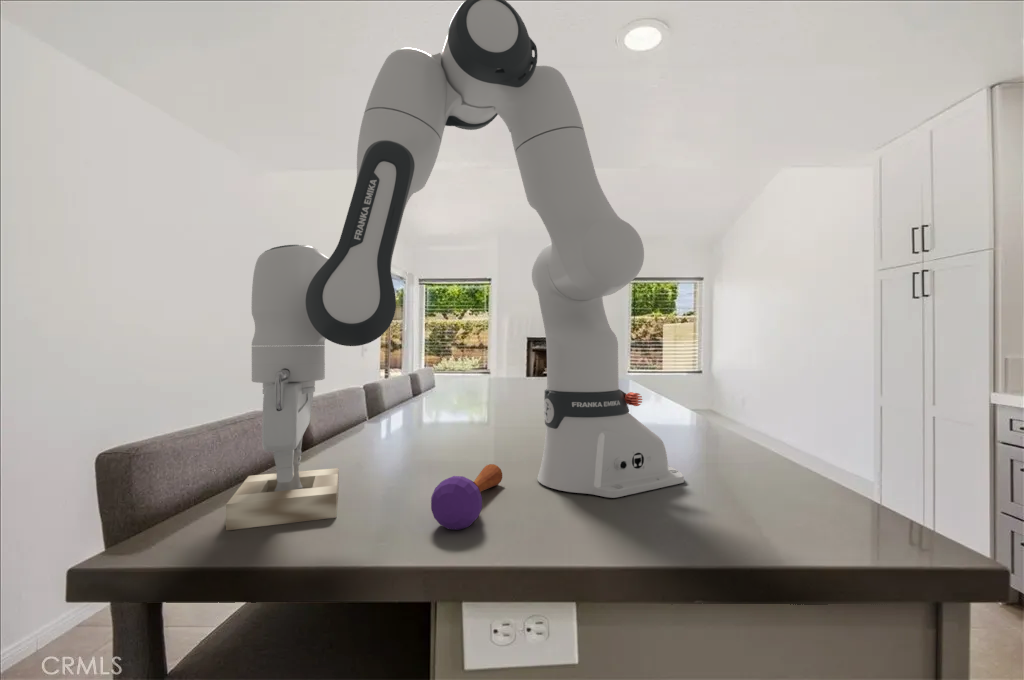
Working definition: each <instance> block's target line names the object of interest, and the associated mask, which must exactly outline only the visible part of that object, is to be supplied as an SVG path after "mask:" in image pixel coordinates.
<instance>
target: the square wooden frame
mask: <svg viewBox="0 0 1024 680" xmlns="http://www.w3.org/2000/svg"><path fill="white" fill-rule="evenodd" d="M339 470H340V469H339V467H335V468H322V469H312V470H299V478H300V482H301V485H302V486H303V487H302V489H295V490H285V491H274V490H275V488H276V486H277V472H275V473H264V474H255V475H248V476H247V477H246V478H245V480H244V481H243V483H242V484H241V485H240V486H239V487H238V488H237V490H236V491H235V493H234V494H233V495H232V497H230V499H229V500H228V501H227V503H225V514H226V515H225V531H233V530H243V529H250V528H257V527H259V528H260V527H267V526H276V525H282V524H283V525H285V524H293V523H300V522H308V521H317V520H319V521H320V520H324V519H334V518H337V516H338V515H337V514H338V503H339V491H340V490H339V488H340V487H339V486H340V484H339V483H340V482H339V479H340V478H339V475H340V471H339Z"/></svg>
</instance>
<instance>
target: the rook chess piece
mask: <svg viewBox="0 0 1024 680" xmlns="http://www.w3.org/2000/svg"><path fill="white" fill-rule="evenodd" d="M302 453H303V452H302V450H301V451H300V450H299V445H297V447H296V449H294V457H293V465H294V476H293V479H292V480H291V481H290V482H281V483H280V482H278V481H277V486H276V488H275V490H274V491H285V490H295V489H302V487H303V486H302V485H301V482H300V478H299V471H300V470H299V466H300V465H301V462H298V458H299V456H300V455H302Z"/></svg>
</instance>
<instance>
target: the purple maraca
mask: <svg viewBox="0 0 1024 680" xmlns="http://www.w3.org/2000/svg"><path fill="white" fill-rule="evenodd" d="M502 480H503V471H502V469H501V467H499V466H498V465H497V464H493V463H490V464H486V465H485V466H484V467H483V468H482V469H481V471H480V472H479V473H478V475H477V476H476V478H475V479H474V480H471V479H469V478H468V477H466V476H463V475H462V476H460V475H453V476H450V477H448V478H446V479H444V480H442V481H441V482H439V483H438V485H436V487H434V490H433V493H432V495H431V498H430V499H431V501H430V503H431V504H430V506H431V507H430V509H431V512H432V515H433V518H434V520H435V521H436V523H438V524H439V525H440V526H442V527H444V528H446V529H448V530H454V531H461V530H463V529H466V528H469V527H470V526H471V525H472V524H473V522H475V521H476V520H477V519H478V518H479V516H480V513H481V511H482V508H483V496H482V492H483V491H485V490H487V489H490V488H493V487H496V486H498V485H500V483H501V482H502Z"/></svg>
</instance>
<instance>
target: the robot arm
mask: <svg viewBox="0 0 1024 680" xmlns="http://www.w3.org/2000/svg"><path fill="white" fill-rule="evenodd" d="M443 45H444V46H443V49H442V53H441V52H438V53H436V54H429V53H427V52H426V51H423V50H420V49H417V48H414V47H413V48H412V47H403V48H399V49H396V50H395V51H393V52H391V53H390V54H389V55H388V56H387V57H386V59H385V60H384V62H383V64H382V66H381V68H380V70H379V72H378V74H377V76H376V79H375V80H374V83H373V86H372V88H371V91H370V93H369V96H368V100H367V102H366V106H365V109H364V112H363V116H362V120H361V126H360V129H359V136H358V142H357V149H356V151H357V153H356V180H355V186H354V189H353V194H352V197H351V200H350V204H349V207H348V211H347V214H346V217H345V220H344V224H343V228H342V232H341V234H340V238H339V241H338V243H337V245H336V248H335V249H334V250H333V253H332V254H331V255H330V257H328V256H326V255H325V254H323V253H322V252H321V251H319V249H318V248H316V247H315V246H311V245H306V244H286V245H285V244H284V245H280V246H278V245H277V246H276V247H272V248H270V249H269V248H268V249H267V250H265V251H263V252H262V253H260V255H259V256H258V257H257V259H256V262H255V265H254V271H253V276H252V286H251V316H252V318H253V321H254V334H253V338H252V340H251V382H252V383H258V384H260V383H261V384H262V394H263V398H262V399H263V400H262V401H263V402H262V421H261V422H262V423H261V444H262V448H263V451H264V452H266V453H272V452H273V458H274V463H275V464H274V465H275V469H276V473H277V481H278V482H280V483H281V482H290V481H291V480H292V479H293V476H294V465H293V457H294V449H296V447H297V445H299V450H300V451H301V452H302V444H303V436H304V434H305V432H306V430H307V428H308V427H309V425H310V422H311V417H312V410H313V409H312V408H313V401H314V393H315V392H316V382H318V381H323V380H325V379H326V377H325V376H326V375H325V374H326V369H325V368H326V366H325V365H326V363H325V362H326V361H325V359H326V358H325V356H326V355H325V354H326V351H325V349H326V347H325V343H326V342H325V341H326V340H328V341H330V342H331V343H334V344H336V345H339V346H344V347H359V346H364V345H367V344H370V343H372V342H374V341H375V340H377V339H378V338H380V337H381V336H383V334H385V333H386V331H387V330H388V329H389V328H390V326H391V324H392V322H393V320H394V317H395V314H396V308H397V297H396V292H395V287H394V282H393V278H392V269H391V268H392V261H393V260H392V259H393V256H394V250H395V247H396V244H397V243H396V242H397V241H398V240H397V239H398V235H399V231H400V228H401V223H402V220H403V216H404V213H405V209H406V207H407V204H408V202H409V201H410V199H411V197H412V196H413V195H414V194H415V193H417V192H420V191H421V190H422V189H424V188H425V186H426V184H427V183H428V181H429V178H430V176H431V174H432V171H433V168H434V167H435V165H436V164H435V163H436V161H437V160H438V159H437V158H438V155H439V152H440V148H441V144H442V139H443V136H444V131H445V128H446V127H455V128H458V129H461V130H467V131H469V130H470V131H473V130H474V131H476V130H479V129H482V128H485V127H486V126H488V125H489V124H490V123H491V122H493V121H494V120H495V118H497V116H499V117H500V118H501V119H502V121H503V122H504V124H505V125H506V127H507V129H508V131H509V133H510V137H511V142H512V146H513V149H514V154H515V158H516V161H517V165H518V169H519V174H520V177H521V180H522V184H523V188H524V193H525V197H526V199H527V202H528V205H529V206H530V207H531V208H532V209H533V210H535V212H537V214H538V215H539V217H540V219H541V221H542V223H543V225H544V226H545V229H546V231H547V233H548V235H549V238H550V241H551V242H550V243H548V244H546V246H545V247H543V248H542V250H541V251H540V253H539V254H538V256H537V257H536V259H535V261H534V264H533V265H532V269H531V280H532V284H533V286H534V289H535V291H536V292H537V295H538V300H539V306H540V311H541V317H542V322H543V327H544V332H545V333H544V334H545V341H546V342H545V343H546V386H547V387H546V389H544V397H543V398H544V400H543V401H544V402H543V416H544V425H545V427H546V428H545V438H544V446H543V452H542V459H541V464H540V468H539V471H538V475H537V481H538V482H539V483H540V484H541V485H543V486H545V487H547V488H551V489H554V490H558V491H563V492H567V493H573V494H574V493H575V494H576V493H577V494H585V495H586V494H588V495H595V496H600V497H604V498H611V499H612V498H613V499H615V498H620V497H624V496H630V495H634V494H639V493H643V492H647V491H652V490H657V489H660V488H666V487H670V486H675V485H678V484H683V483H685V479H684V475H683V473H682V472H681V471H679V470H678V469H676V468H675V467H672V466H669V460H668V454H667V450H666V446H665V444H664V441H663V440H662V439H661V437H660V436H659V435H658V434H656V433H655V432H654V431H652V430H651V429H650V428H648V427H647V426H646V425H644V424H643V422H641V421H640V420H639V419H637V418H636V417H635V416H633V415H632V414H631V413H629V412H630V409H629V406H634V407H639V406H640V405H642V404H641V403H643V401H642V400H643V396H642V395H641V393H639V392H633V391H632V392H631V391H629V392H628V393H626V392H625V391H623V390H621V389H620V388H619V341H618V337H617V336H616V333H615V332H614V330H612V328H611V326H610V324H609V321H608V319H607V315H606V310H605V307H604V306H605V305H604V302H603V297H607V296H611V295H613V294H615V293H617V292H618V291H620V290H622V289H623V288H624V287H626V286H628V284H630V283H631V282H632V281H634V279H635V278H636V277H637V276H638V275H639V274H640V271H641V270H642V268H643V264H644V259H645V250H644V249H645V248H644V243H643V241H642V238H641V236H640V234H639V233H638V231H637V230H636V229H635V228H634V226H632V225H631V224H630V223H628V222H627V221H625V220H624V219H622V218H620V216H618V214H617V213H616V211H615V210H614V208H613V207H612V205H611V204H610V202H609V200H608V198H607V196H606V195H605V192H604V191H603V188H602V187H601V184H600V181H599V179H598V175H597V173H596V169H595V165H594V162H593V159H592V155H591V151H590V148H589V144H588V140H587V136H586V132H585V128H584V124H583V121H582V118H581V114H580V112H579V111H580V110H579V108H578V106H577V103H576V101H575V98H574V95H573V94H572V91H571V89H570V87H569V85H568V83H567V80H566V78H565V76H564V75H563V74H562V73H561V71H559V70H558V69H556V68H555V67H553V66H550V65H537V63H538V48H537V44H536V43H535V42H534V40H533V39H532V37H530V35H529V32H528V30H527V26H526V25H525V22H524V20H523V19H522V17H521V15H519V13H518V12H517V10H516V9H515V8H514V7H513V6H512V4H510V3H509V2H507V1H506V0H465V1H463V3H461V4H460V6H459V7H458V9H457V10H456V12H455V13H454V14H453V17H452V18H451V21H450V23H449V25H448V30H447V36H446V39H445V41H444V44H443ZM533 51H534V55H533ZM628 405H629V406H628ZM301 455H302V454H301ZM301 455H300V456H299V458H298V462H299V463H301V459H302V456H301Z"/></svg>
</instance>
